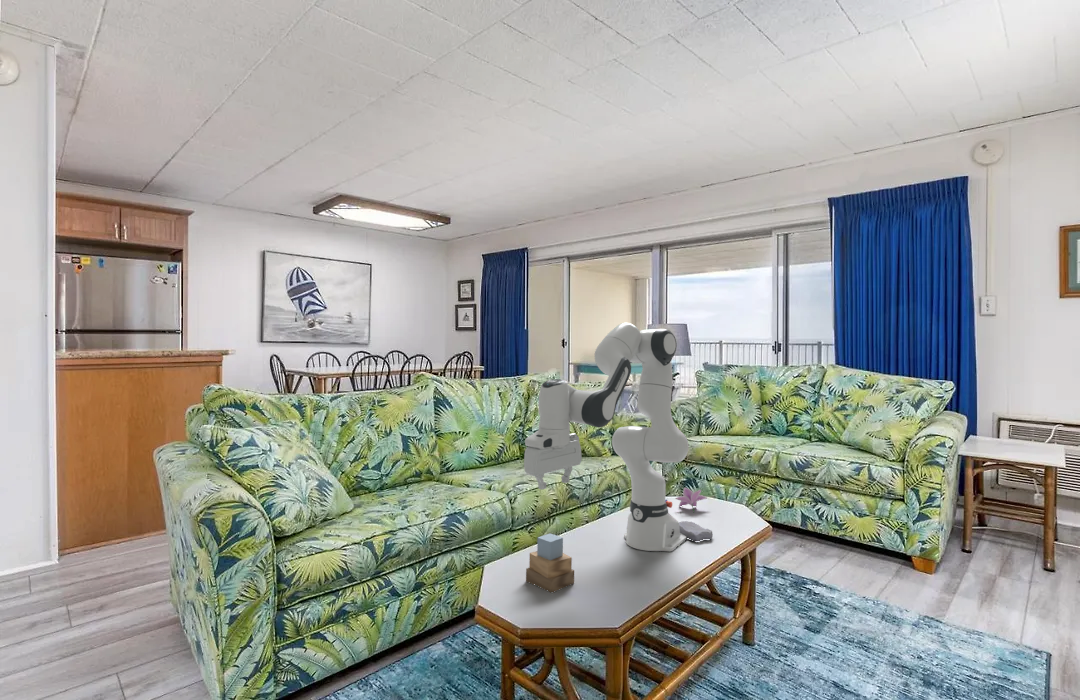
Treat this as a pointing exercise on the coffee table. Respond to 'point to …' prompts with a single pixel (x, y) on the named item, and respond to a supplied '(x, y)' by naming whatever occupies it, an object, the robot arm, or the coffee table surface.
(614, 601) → the coffee table surface
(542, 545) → the slate cube
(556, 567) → the teak block
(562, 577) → the walnut block
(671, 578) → the coffee table surface
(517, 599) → the coffee table surface
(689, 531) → the stone block
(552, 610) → the coffee table surface
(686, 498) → the lily
